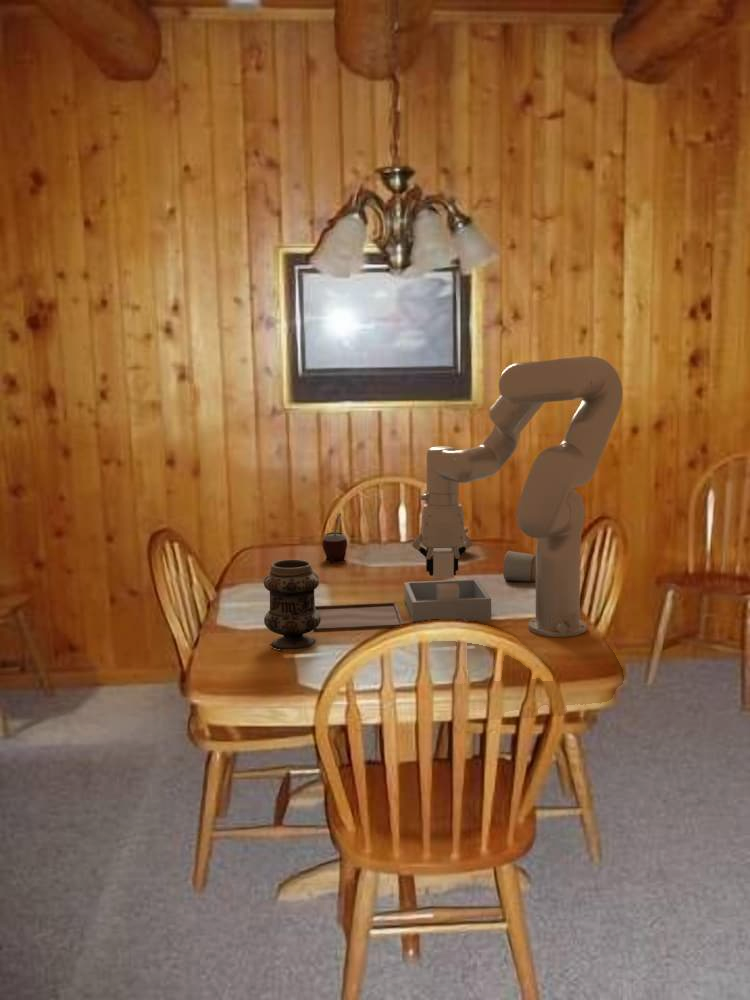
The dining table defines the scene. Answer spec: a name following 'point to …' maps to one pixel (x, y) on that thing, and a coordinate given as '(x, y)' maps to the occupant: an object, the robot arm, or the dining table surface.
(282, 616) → the apothecary jar
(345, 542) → the mate gourd
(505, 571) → the ceramic mug
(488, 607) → the tub
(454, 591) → the beige block
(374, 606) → the walnut tray
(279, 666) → the dining table surface
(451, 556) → the stone
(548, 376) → the robot arm
